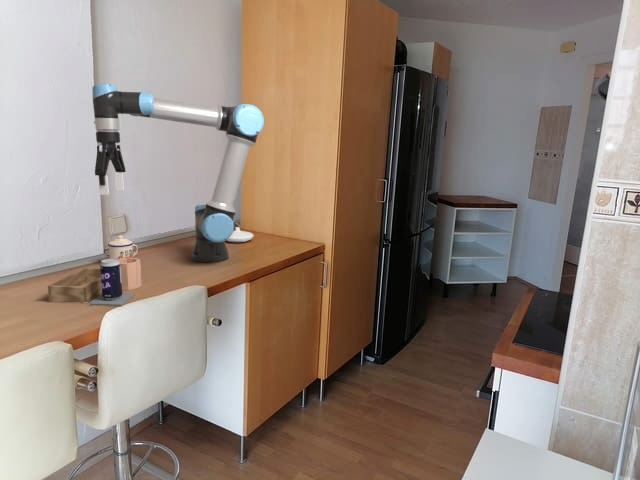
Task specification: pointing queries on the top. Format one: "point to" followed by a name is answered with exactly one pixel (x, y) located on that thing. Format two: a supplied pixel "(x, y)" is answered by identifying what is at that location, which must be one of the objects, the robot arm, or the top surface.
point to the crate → (77, 286)
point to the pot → (130, 273)
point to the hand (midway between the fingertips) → (112, 192)
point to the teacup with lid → (121, 248)
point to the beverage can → (111, 279)
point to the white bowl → (240, 236)
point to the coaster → (118, 302)
